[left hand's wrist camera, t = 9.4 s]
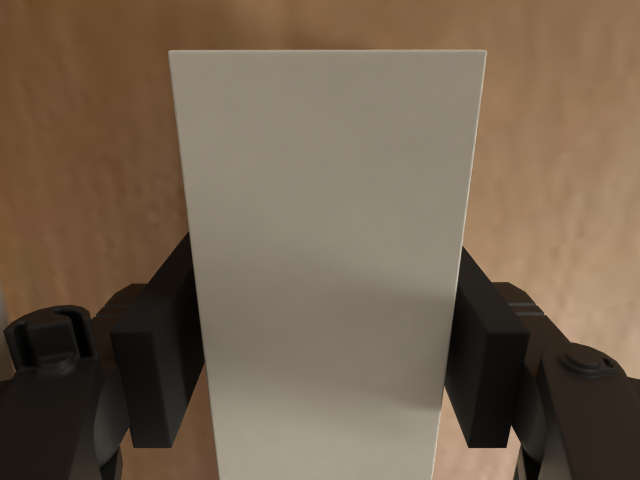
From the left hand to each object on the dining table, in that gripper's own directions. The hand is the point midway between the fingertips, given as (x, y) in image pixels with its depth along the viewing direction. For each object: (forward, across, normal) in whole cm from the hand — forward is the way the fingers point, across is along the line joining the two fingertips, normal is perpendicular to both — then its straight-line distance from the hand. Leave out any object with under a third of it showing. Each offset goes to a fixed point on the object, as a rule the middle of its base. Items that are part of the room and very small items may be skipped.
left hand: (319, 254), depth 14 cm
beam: (+2, 0, -32) cm, 32 cm away
